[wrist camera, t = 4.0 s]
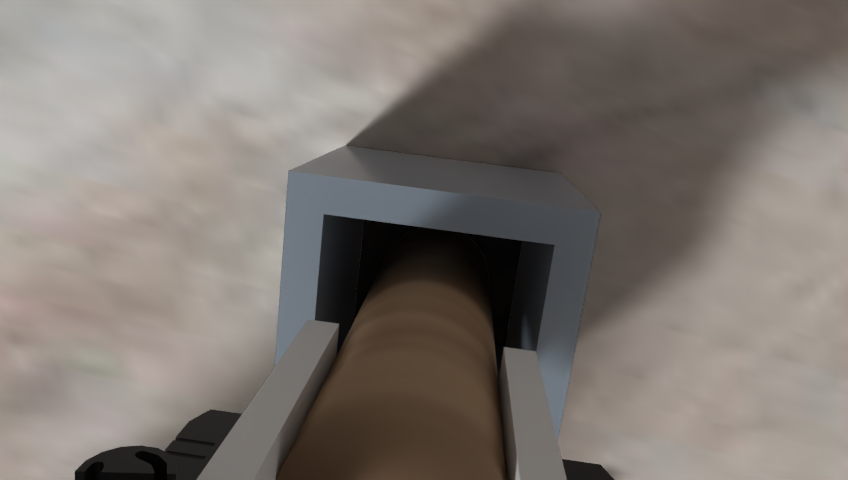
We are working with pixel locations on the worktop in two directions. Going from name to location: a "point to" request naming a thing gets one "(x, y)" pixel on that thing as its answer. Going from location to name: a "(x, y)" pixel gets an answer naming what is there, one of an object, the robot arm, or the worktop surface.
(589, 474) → the robot arm
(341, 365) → the dowel
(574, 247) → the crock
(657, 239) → the worktop surface
